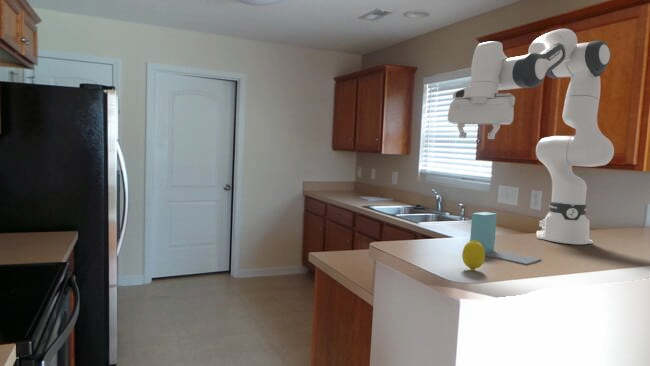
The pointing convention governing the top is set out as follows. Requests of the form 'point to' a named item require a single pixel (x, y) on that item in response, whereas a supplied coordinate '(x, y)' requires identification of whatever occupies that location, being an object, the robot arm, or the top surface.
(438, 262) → the top surface
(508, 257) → the mat
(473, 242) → the lemon
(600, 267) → the top surface
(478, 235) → the teal block
